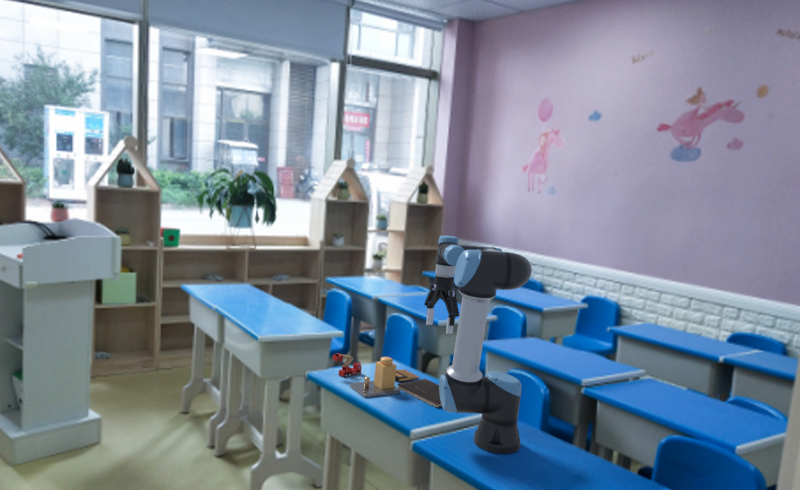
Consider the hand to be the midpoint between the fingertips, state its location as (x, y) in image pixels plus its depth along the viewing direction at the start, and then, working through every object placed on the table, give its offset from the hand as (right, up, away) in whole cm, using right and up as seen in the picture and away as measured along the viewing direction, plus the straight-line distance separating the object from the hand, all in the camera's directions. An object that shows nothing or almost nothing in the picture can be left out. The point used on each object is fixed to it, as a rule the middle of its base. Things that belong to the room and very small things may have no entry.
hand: (439, 328), depth 239 cm
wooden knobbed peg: (-22, -23, +4) cm, 32 cm away
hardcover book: (-3, -27, +3) cm, 28 cm away
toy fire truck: (-38, -22, +16) cm, 46 cm away
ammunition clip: (-19, -22, +17) cm, 34 cm away
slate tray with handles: (-25, -24, +2) cm, 35 cm away
